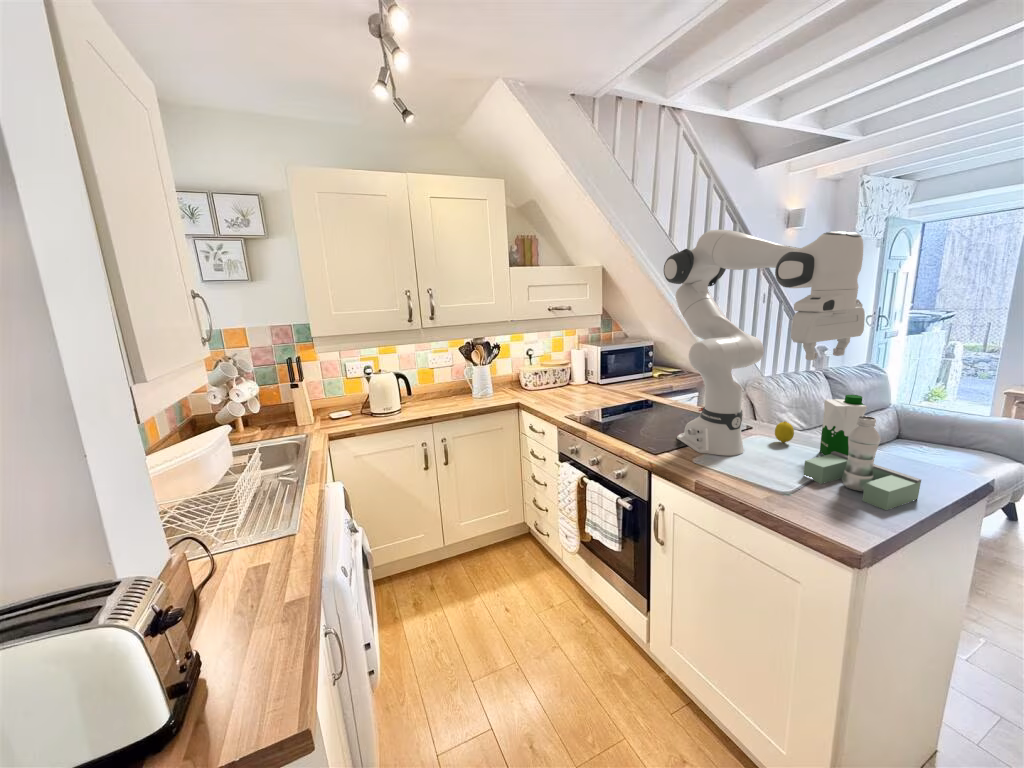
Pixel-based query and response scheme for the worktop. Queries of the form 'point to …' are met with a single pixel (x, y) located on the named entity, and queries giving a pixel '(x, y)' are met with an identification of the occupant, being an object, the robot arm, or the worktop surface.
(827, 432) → the milk carton
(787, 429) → the lemon
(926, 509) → the worktop surface
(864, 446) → the plastic bottle
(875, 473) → the green u-shaped bracket
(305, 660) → the worktop surface
